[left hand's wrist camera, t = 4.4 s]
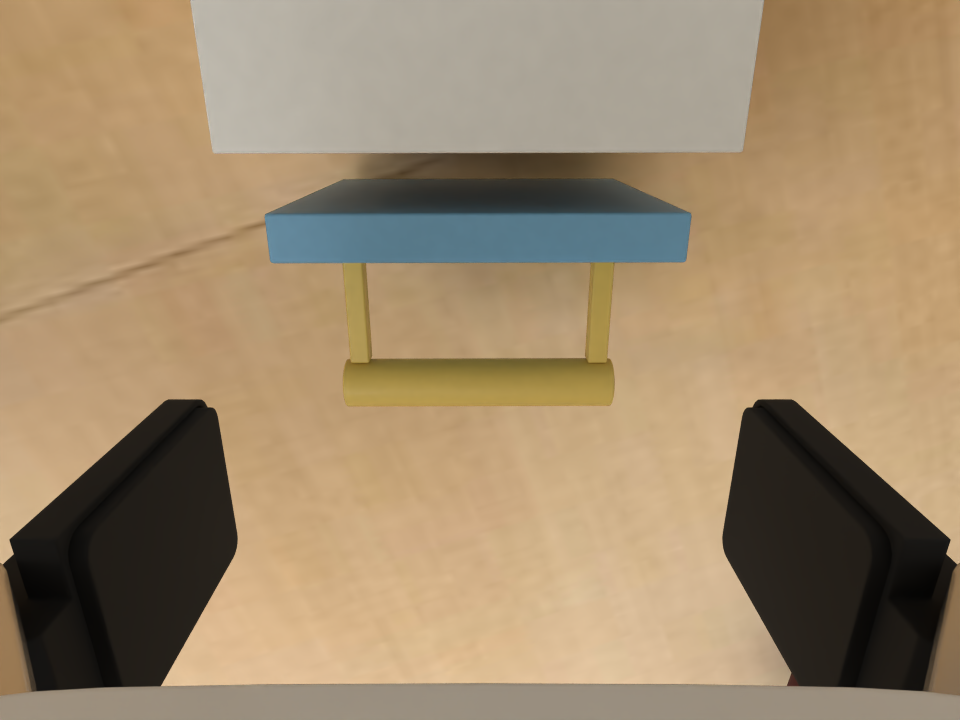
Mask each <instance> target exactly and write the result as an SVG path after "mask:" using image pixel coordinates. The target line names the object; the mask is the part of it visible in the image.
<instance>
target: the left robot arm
mask: <svg viewBox="0 0 960 720" xmlns="http://www.w3.org/2000/svg"><path fill="white" fill-rule="evenodd" d="M237 539H238V538H237V529H236V523H235V517H234V511H233V505H232V499H231V493H230V487H229V481H228V475H227V469H226V463H225V457H224V451H223V445H222V439H221V433H220V427H219V421H218V416H217V413H216V411H215V409H214V408H207V406H206V404H205V402H204V401H203V400H166V401H165V402H163V403H162V404H161V405H160V406H159V407H158V408H157V409H156V410H154V411H153V412H152V413H151V414H150V415H149V416H148V417H147V418H145V419H144V420H143V421H142V422H141V423H140V424H139V425H138V426H136V427H135V428H134V429H133V430H132V431H131V432H130V433H129V434H127V435H126V436H125V437H124V438H123V439H122V440H121V441H120V442H119V443H117V444H116V445H115V446H114V447H113V448H112V449H111V450H110V451H108V452H107V453H106V454H105V455H104V456H103V457H102V458H101V459H99V460H98V461H97V462H96V463H95V464H94V465H93V466H92V467H90V468H89V469H88V470H87V471H86V472H85V473H84V474H83V475H81V476H80V477H79V478H78V479H77V480H76V481H75V482H74V483H72V484H71V485H70V486H69V487H68V488H67V489H66V490H65V491H63V492H62V493H61V494H60V495H59V496H58V497H57V498H56V499H55V500H53V501H52V502H51V503H50V504H49V505H48V506H47V507H46V508H44V509H43V510H42V511H41V512H40V513H39V514H38V515H37V516H35V517H34V518H33V519H32V520H31V521H30V522H29V523H28V524H26V525H25V526H24V527H23V528H22V529H21V530H20V531H19V532H17V533H16V534H15V535H14V536H13V537H12V538H11V539H10V543H11V546H12V549H13V553H14V555H13V556H11V557H10V558H9V559H8V560H7V561H6V562H5V563H4V564H3V565H2V564H1V563H0V720H960V563H959V564H958V565H957V564H956V563H955V562H954V561H953V560H952V559H951V558H950V557H949V556H947V555H946V553H947V549H948V546H949V543H950V539H949V538H948V537H947V536H946V535H945V534H944V533H943V532H941V531H940V530H939V529H938V528H937V527H936V526H935V525H934V524H932V523H931V522H930V521H929V520H928V519H927V518H926V517H925V516H923V515H922V514H921V513H920V512H919V511H918V510H917V509H916V508H914V507H913V506H912V505H911V504H910V503H909V502H908V501H907V500H905V499H904V498H903V497H902V496H901V495H900V494H899V493H898V492H897V491H895V490H894V489H893V488H892V487H891V486H890V485H889V484H888V483H886V482H885V481H884V480H883V479H882V478H881V477H880V476H879V475H877V474H876V473H875V472H874V471H873V470H872V469H871V468H870V467H868V466H867V465H866V464H865V463H864V462H863V461H862V460H861V459H859V458H858V457H857V456H856V455H855V454H854V453H853V452H852V451H850V450H849V449H848V448H847V447H846V446H845V445H844V444H843V443H841V442H840V441H839V440H838V439H837V438H836V437H835V436H834V435H833V434H831V433H830V432H829V431H828V430H827V429H826V428H825V427H824V426H822V425H821V424H820V423H819V422H818V421H817V420H816V419H815V418H813V417H812V416H811V415H810V414H809V413H808V412H807V411H806V410H804V409H803V408H802V407H801V406H800V405H799V404H798V403H797V402H795V401H794V400H757V401H756V402H755V404H754V406H753V408H746V409H745V411H744V413H743V416H742V421H741V427H740V433H739V439H738V445H737V451H736V457H735V463H734V469H733V475H732V481H731V487H730V493H729V499H728V505H727V511H726V517H725V523H724V529H723V537H722V539H723V549H724V552H725V555H726V557H727V559H728V561H729V563H730V564H731V566H732V568H733V570H734V571H735V573H736V575H737V577H738V578H739V580H740V582H741V584H742V586H743V587H744V589H745V591H746V593H747V594H748V596H749V598H750V600H751V601H752V603H753V605H754V607H755V609H756V610H757V612H758V614H759V616H760V617H761V619H762V621H763V623H764V625H765V626H766V628H767V630H768V632H769V633H770V635H771V637H772V639H773V640H774V642H775V644H776V646H777V648H778V649H779V651H780V653H781V655H782V656H783V658H784V660H785V662H786V663H787V665H788V667H789V669H790V671H791V672H792V674H793V676H794V678H795V679H796V681H797V683H798V685H799V686H752V685H700V684H511V683H449V684H260V685H208V686H161V685H162V683H163V681H164V679H165V678H166V676H167V674H168V672H169V671H170V669H171V667H172V665H173V663H174V662H175V660H176V658H177V656H178V655H179V653H180V651H181V649H182V648H183V646H184V644H185V642H186V640H187V639H188V637H189V635H190V633H191V632H192V630H193V628H194V626H195V625H196V623H197V621H198V619H199V617H200V616H201V614H202V612H203V610H204V609H205V607H206V605H207V603H208V601H209V600H210V598H211V596H212V594H213V593H214V591H215V589H216V587H217V586H218V584H219V582H220V580H221V578H222V577H223V575H224V573H225V571H226V570H227V568H228V566H229V564H230V563H231V561H232V559H233V557H234V555H235V552H236V549H237Z"/></svg>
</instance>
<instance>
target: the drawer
mask: <svg viewBox="0 0 960 720" xmlns="http://www.w3.org/2000/svg"><path fill="white" fill-rule="evenodd" d="M265 223H266V231H267V239H268V247H269V255H270V261H271V262H272V263H343V274H344V286H345V298H346V311H347V323H348V335H349V347H350V359H348V360H347V361H346V363H345V366H344V372H343V394H344V400H345V403H346V405H347V406H609V405H611V403H612V401H613V397H614V386H615V381H614V369H613V364H612V361H611V360H610V359H609V358H607V352H608V339H609V326H610V313H611V300H612V287H613V273H614V262H685V261H686V257H687V249H688V240H689V232H690V223H691V213H689V212H687V211H684V210H682V209H680V208H678V207H675V206H673V205H671V204H669V203H666V202H664V201H662V200H660V199H657V198H655V197H653V196H651V195H648V194H646V193H644V192H642V191H639V190H637V189H635V188H633V187H630V186H628V185H626V184H624V183H621V182H619V181H617V180H615V179H343V180H341V181H339V182H337V183H334V184H332V185H330V186H328V187H325V188H323V189H321V190H319V191H316V192H314V193H312V194H310V195H307V196H305V197H303V198H301V199H298V200H296V201H294V202H292V203H289V204H287V205H285V206H283V207H280V208H278V209H276V210H274V211H271V212H269V213H267V214H265ZM588 262H591V269H590V285H589V301H588V317H587V333H586V349H585V357H586V358H523V359H371V357H372V347H371V332H370V317H369V303H368V288H367V273H366V263H588Z"/></svg>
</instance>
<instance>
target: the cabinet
mask: <svg viewBox="0 0 960 720" xmlns="http://www.w3.org/2000/svg"><path fill="white" fill-rule="evenodd" d="M190 2H191V9H192V16H193V22H194V29H195V36H196V43H197V49H198V56H199V63H200V70H201V77H202V83H203V90H204V97H205V104H206V110H207V117H208V124H209V131H210V137H211V144H212V151H213V153H215V154H245V153H710V152H742V151H743V146H744V139H745V132H746V125H747V118H748V111H749V104H750V97H751V90H752V83H753V76H754V69H755V62H756V55H757V47H758V40H759V33H760V26H761V19H762V12H763V5H764V0H190Z"/></svg>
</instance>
